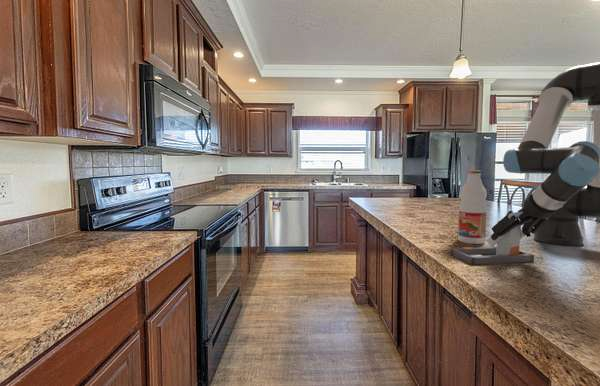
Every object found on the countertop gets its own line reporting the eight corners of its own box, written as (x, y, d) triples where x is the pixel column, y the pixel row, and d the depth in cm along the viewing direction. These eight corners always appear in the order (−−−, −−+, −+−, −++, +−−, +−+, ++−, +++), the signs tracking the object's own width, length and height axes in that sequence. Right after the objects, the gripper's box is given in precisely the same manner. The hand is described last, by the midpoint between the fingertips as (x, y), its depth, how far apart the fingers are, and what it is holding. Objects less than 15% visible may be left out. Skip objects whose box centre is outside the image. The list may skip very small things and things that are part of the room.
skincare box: (508, 259, 103) (510, 222, 102) (495, 256, 107) (497, 220, 105) (519, 256, 106) (521, 220, 104) (506, 253, 109) (508, 218, 108)
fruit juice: (490, 243, 123) (494, 170, 121) (468, 245, 122) (471, 170, 119) (473, 238, 132) (476, 170, 130) (452, 239, 131) (455, 170, 128)
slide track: (506, 251, 112) (507, 245, 112) (533, 261, 101) (534, 254, 101) (450, 254, 109) (450, 247, 109) (471, 264, 99) (472, 257, 98)
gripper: (520, 212, 88) (478, 254, 106) (584, 210, 91) (532, 251, 108) (506, 191, 93) (468, 234, 110) (567, 190, 95) (520, 232, 113)
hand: (500, 242), depth 109 cm, fingers closed on skincare box, 7 cm apart
